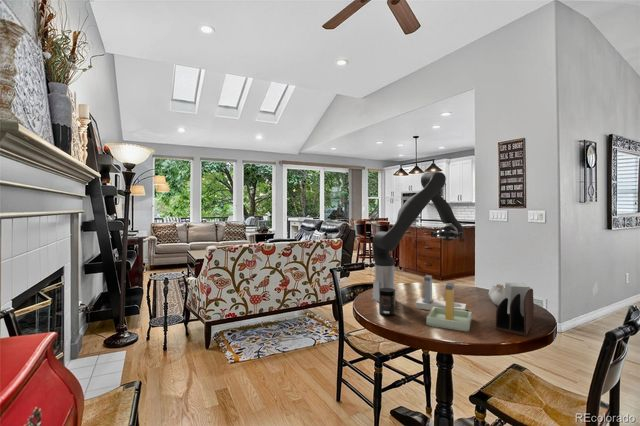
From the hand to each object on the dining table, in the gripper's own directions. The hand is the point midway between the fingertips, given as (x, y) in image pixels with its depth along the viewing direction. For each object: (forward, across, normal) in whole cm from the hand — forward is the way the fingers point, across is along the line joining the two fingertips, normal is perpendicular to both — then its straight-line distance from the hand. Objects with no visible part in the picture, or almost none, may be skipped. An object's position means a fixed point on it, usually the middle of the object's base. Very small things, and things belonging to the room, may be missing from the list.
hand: (444, 235), depth 154 cm
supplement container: (+25, -20, +32) cm, 45 cm away
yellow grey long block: (+23, +5, +31) cm, 39 cm away
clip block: (+7, 0, +32) cm, 33 cm away
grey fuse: (+7, -6, +32) cm, 33 cm away
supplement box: (0, +29, +32) cm, 43 cm away
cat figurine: (-13, +23, +32) cm, 42 cm away
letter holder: (+15, +28, +32) cm, 45 cm away
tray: (+23, +5, +32) cm, 40 cm away
